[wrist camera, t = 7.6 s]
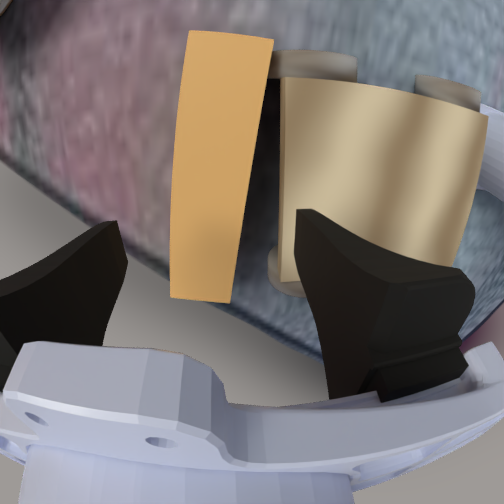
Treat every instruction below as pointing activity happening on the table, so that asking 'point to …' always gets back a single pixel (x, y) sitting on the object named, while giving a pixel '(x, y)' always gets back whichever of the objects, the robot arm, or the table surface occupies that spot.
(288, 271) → the trolley
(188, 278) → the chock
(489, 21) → the table surface
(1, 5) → the tin
